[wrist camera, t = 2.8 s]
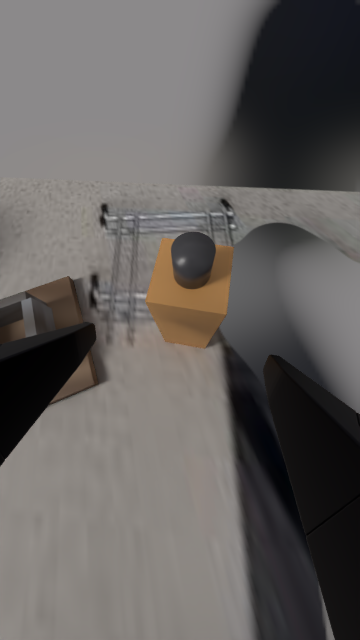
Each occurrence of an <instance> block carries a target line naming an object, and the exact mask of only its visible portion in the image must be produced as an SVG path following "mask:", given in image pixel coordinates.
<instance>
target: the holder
mask: <svg viewBox="0 0 360 640" xmlns="http://www.w3.org/2000/svg"><path fill="white" fill-rule="evenodd" d="M81 323H83V319H82V315H81V311H80V307H79V302H78V298H77V294H76V290H75V286H74V282H73V280H72V279H71V278H70V277H69V276H67V277H64V278H62V279H59V280H56V281H53V282H50V283H47V284H44V285H41V286H39V287H36V288H33V289H30V290H27V291H24V292H21V293H18V294H16V295H13V296H10V297H7V298H4V299H1V300H0V344H3V343H6V342H10V341H14V340H18V339H22V338H26V337H30V336H34V335H38V334H41V333H45V332H49V331H53V330H57V329H61V328H65V327H69V326H73V325H77V324H81ZM96 385H98V380H97V376H96V372H95V367H94V363H93V359H92V355H91V351H90V350H89V352H88V354H87V355H86V357H85V358H84V360H83V361H82V363H81V364H80V366H79V367H78V368H77V370H76V371H75V372H74V373H73V375H72V376H71V377H70V378H69V380H68V381H67V382H66V383H65V385H64V386H63V387H62V389H61V390H60V391H59V392H58V394H57V395H56V396H55V397H54V399H53V400H52V401H51V402H50V404H53V403H55V402H57V401H60V400H62V399H65V398H67V397H69V396H72V395H74V394H76V393H79V392H81V391H84V390H86V389H88V388H91V387H93V386H96ZM50 404H49V405H50Z"/></svg>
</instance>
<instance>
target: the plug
mask: <svg viewBox="0 0 360 640" xmlns="http://www.w3.org/2000/svg"><path fill="white" fill-rule="evenodd" d="M233 250H234V247H229V246H222V245H215V244H214V242H213V241H212V239H211V238H210V237H208V236H207V235H205V234H203V233H199V232H188V233H184V234H182V235H180V236H178V237H177V238H176V239H168V238H162V241H161V245H160V249H159V252H158V256H157V260H156V263H155V267H154V271H153V274H152V278H151V282H150V286H149V289H148V293H147V297H146V300H145V302H146V304H147V306H148V308H149V310H150V312H151V314H152V316H153V318H154V320H155V322H156V324H157V326H158V328H159V330H160V332H161V334H162V336H163V338H164V340H165V342H170V343H176V344H181V345H187V346H193V347H198V348H204V349H205V347H206V346H207V344H208V343H209V341H210V340H211V338H212V337H213V335H214V333H215V332H216V330H217V329H218V327H219V326H220V324H221V323H222V321H223V319H224V318H225V316H226V315H227V306H228V296H229V288H230V278H231V269H232V259H233Z"/></svg>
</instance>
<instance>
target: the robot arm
mask: <svg viewBox="0 0 360 640" xmlns="http://www.w3.org/2000/svg"><path fill="white" fill-rule="evenodd" d="M95 341H96V330H95V325H94V324H93V323H88V322H84V323H81V324H77V325H73V326H69V327H65V328H61V329H57V330H53V331H49V332H45V333H41V334H38V335H34V336H30V337H26V338H22V339H18V340H14V341H10V342H6V343H3V344H0V466H1V465H2V463H3V462H4V461H5V459H6V458H7V457H8V456H9V454H10V453H11V452H12V451H13V449H14V448H15V447H16V446H17V444H18V443H19V442H20V440H21V439H22V438H23V437H24V435H25V434H26V433H27V432H28V430H29V429H30V428H31V427H32V425H33V424H34V423H35V421H36V420H37V419H38V418H39V416H40V415H41V414H42V413H43V411H44V410H45V409H46V408H47V406H48V405H49V404H50V402H51V401H52V400H53V399H54V397H55V396H56V395H57V394H58V392H59V391H60V390H61V389H62V387H63V386H64V385H65V383H66V382H67V381H68V380H69V378H70V377H71V376H72V375H73V373H74V372H75V371H76V370H77V368H78V367H79V366H80V364H81V363H82V361H83V360H84V358H85V357H86V355H87V354H88V352H89V350H90V349H91V347H92V346H93V344H94V342H95ZM263 374H264V380H265V386H266V393H267V398H268V403H269V407H270V410H271V414H272V417H273V421H274V424H275V428H276V432H277V435H278V439H279V442H280V446H281V449H282V453H283V456H284V460H285V464H286V467H287V471H288V474H289V478H290V481H291V485H292V488H293V492H294V496H295V499H296V503H297V506H298V510H299V513H300V517H301V520H302V524H303V527H304V531H305V534H306V535H307V536H306V539H307V542H308V546H309V549H310V553H311V556H312V560H313V564H314V567H315V571H316V574H317V578H318V581H319V585H320V588H321V592H322V596H323V599H324V603H325V606H326V610H327V613H328V617H329V620H330V624H331V628H332V631H333V635H334V638H335V640H360V414H359V413H356V412H355V411H354V410H353V409H352V408H350V407H349V406H347V405H346V404H345V403H343V402H342V401H340V400H339V399H338V398H336V397H335V396H333V395H332V394H331V393H330V392H328V391H327V390H325V389H324V388H323V387H321V386H320V385H319V384H317V383H316V382H314V381H313V380H312V379H310V378H309V377H307V376H306V375H304V374H303V373H302V372H301V371H299V370H298V369H296V368H295V367H294V366H292V365H291V364H289V363H288V362H287V361H285V360H284V359H283V358H281V357H280V356H277V355H269V356H268V358H267V361H266V363H265V366H264V369H263Z"/></svg>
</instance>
